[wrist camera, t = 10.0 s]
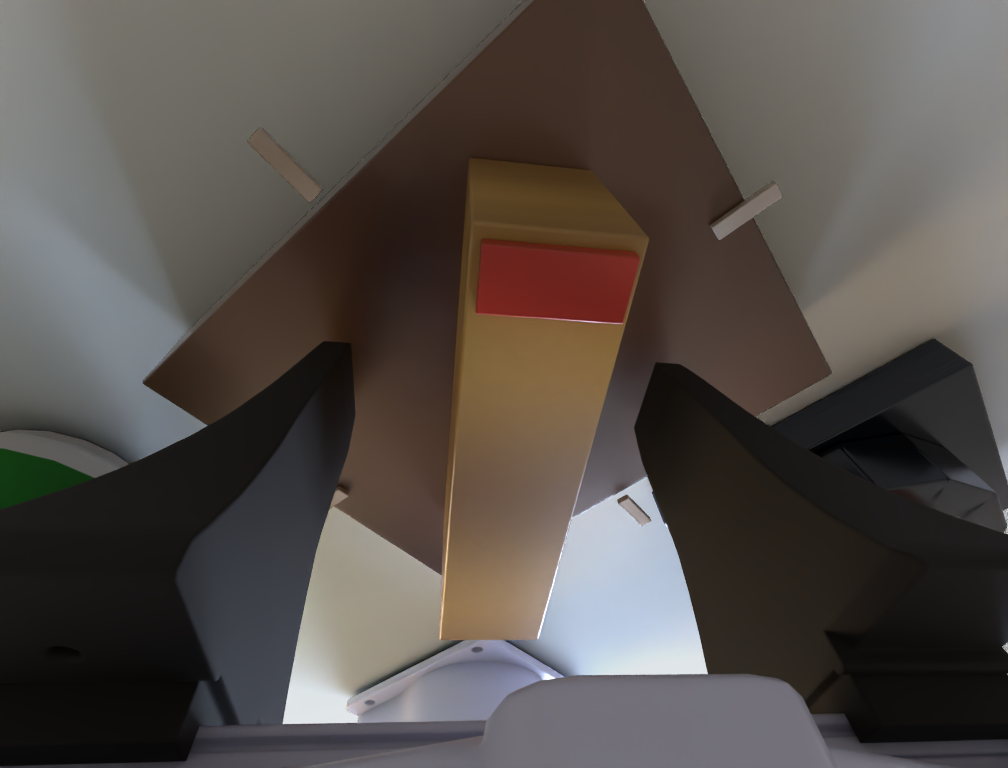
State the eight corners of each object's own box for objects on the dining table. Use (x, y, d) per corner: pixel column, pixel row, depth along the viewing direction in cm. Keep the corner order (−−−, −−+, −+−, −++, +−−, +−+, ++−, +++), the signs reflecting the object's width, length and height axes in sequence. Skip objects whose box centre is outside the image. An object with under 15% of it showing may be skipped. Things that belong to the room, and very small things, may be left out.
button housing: (738, 584, 23) (777, 664, 20) (650, 491, 19) (683, 574, 16) (981, 475, 20) (1068, 552, 17) (934, 337, 16) (1037, 407, 13)
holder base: (471, 552, 20) (472, 615, 18) (118, 303, 14) (52, 357, 11) (821, 350, 16) (878, 402, 14) (555, -174, 9) (585, -236, 7)
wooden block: (523, 517, 16) (540, 650, 12) (444, 515, 15) (438, 651, 12) (593, 169, 10) (656, 244, 7) (468, 156, 10) (471, 227, 6)
